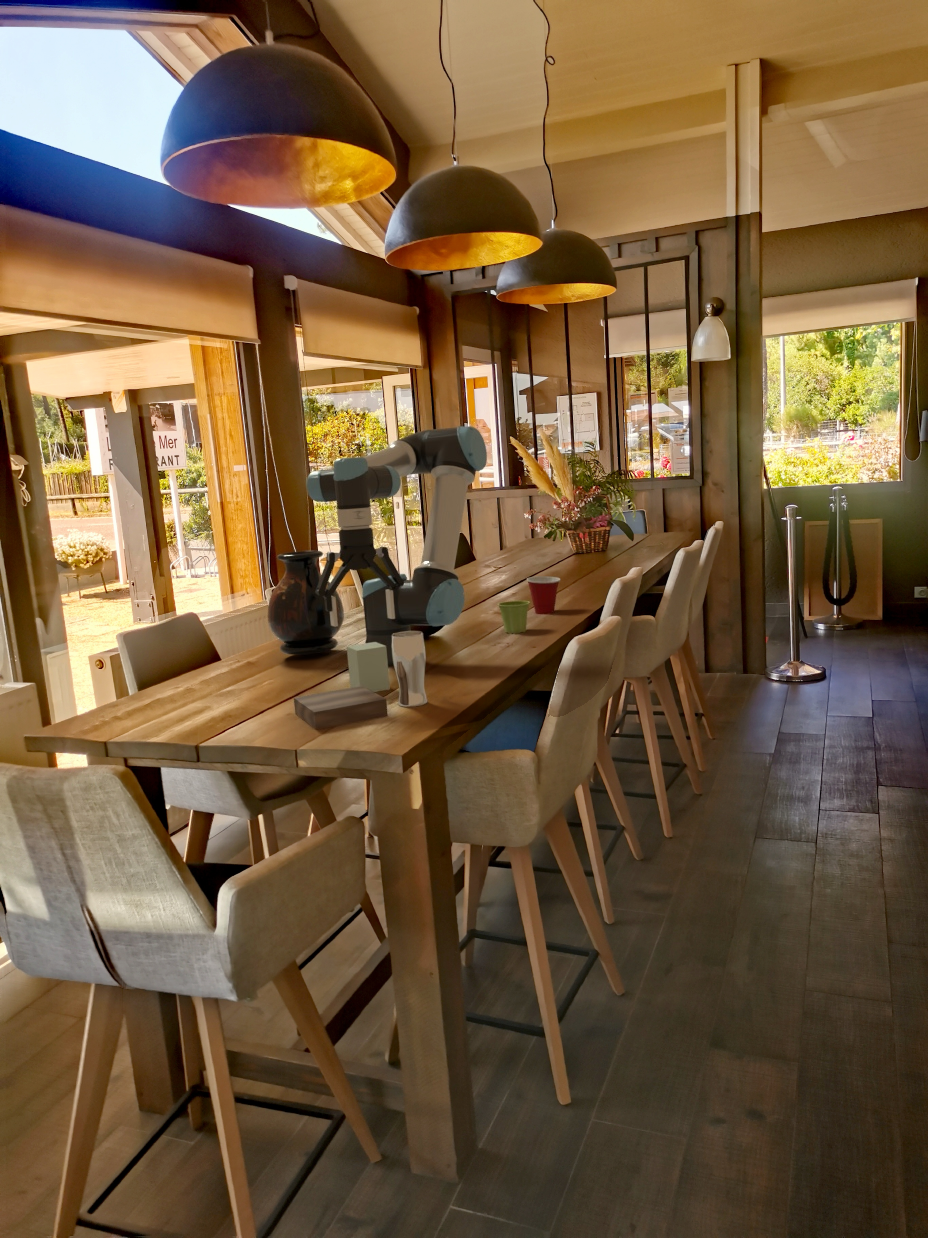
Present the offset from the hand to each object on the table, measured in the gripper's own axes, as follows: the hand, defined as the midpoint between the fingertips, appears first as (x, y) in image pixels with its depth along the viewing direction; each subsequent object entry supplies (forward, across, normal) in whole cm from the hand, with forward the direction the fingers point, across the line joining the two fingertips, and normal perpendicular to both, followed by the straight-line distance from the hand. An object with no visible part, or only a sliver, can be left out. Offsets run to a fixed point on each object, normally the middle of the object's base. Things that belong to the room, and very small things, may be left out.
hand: (363, 622), depth 210 cm
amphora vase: (+15, +3, +59) cm, 61 cm away
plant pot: (+15, +59, +38) cm, 72 cm away
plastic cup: (+15, +81, +58) cm, 101 cm away
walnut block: (+16, -13, -18) cm, 27 cm away
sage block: (+16, 0, 0) cm, 16 cm away
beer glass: (+16, +3, -19) cm, 25 cm away
